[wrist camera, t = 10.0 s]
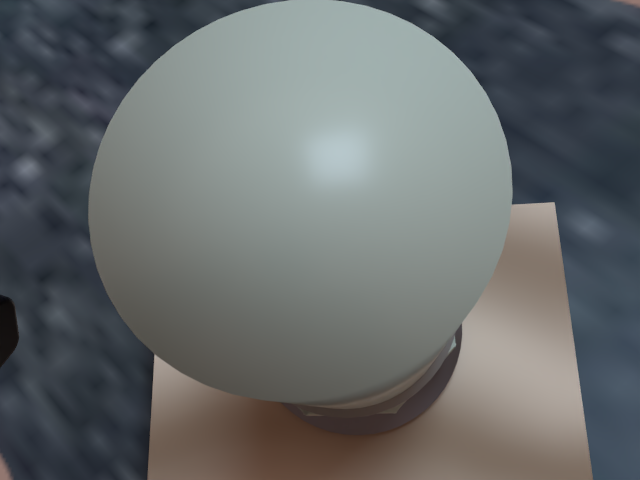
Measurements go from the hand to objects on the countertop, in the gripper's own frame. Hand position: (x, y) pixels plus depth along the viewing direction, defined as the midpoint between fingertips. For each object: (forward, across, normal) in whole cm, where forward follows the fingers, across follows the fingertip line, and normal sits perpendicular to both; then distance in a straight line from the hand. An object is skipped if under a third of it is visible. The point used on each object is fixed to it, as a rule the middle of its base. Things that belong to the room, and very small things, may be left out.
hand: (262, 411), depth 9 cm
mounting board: (+8, -1, +9) cm, 13 cm away
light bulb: (+10, 0, +6) cm, 11 cm away
